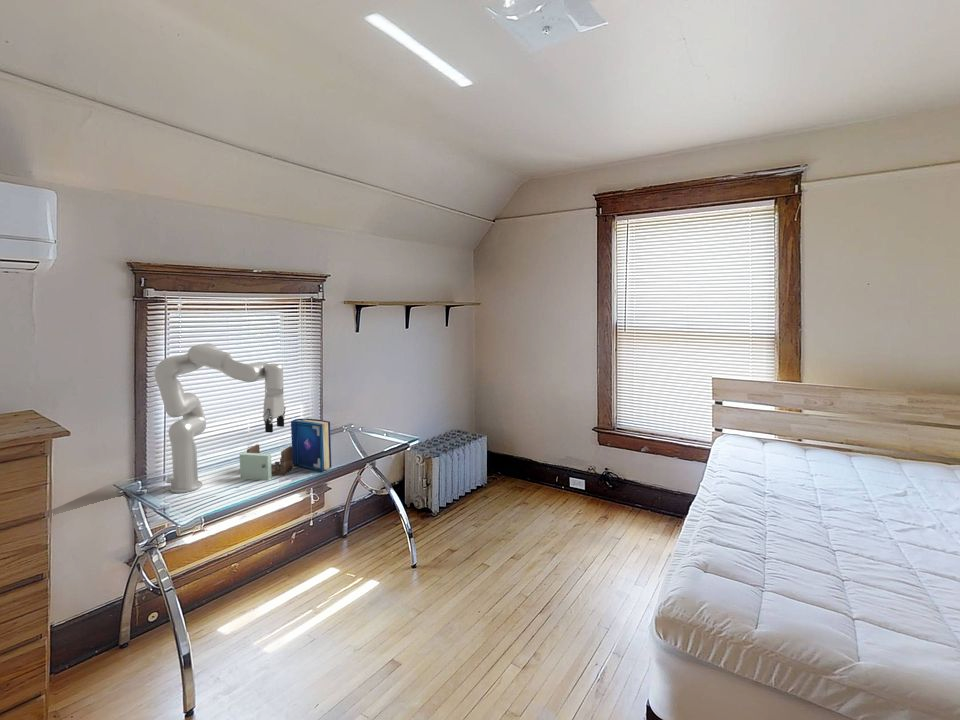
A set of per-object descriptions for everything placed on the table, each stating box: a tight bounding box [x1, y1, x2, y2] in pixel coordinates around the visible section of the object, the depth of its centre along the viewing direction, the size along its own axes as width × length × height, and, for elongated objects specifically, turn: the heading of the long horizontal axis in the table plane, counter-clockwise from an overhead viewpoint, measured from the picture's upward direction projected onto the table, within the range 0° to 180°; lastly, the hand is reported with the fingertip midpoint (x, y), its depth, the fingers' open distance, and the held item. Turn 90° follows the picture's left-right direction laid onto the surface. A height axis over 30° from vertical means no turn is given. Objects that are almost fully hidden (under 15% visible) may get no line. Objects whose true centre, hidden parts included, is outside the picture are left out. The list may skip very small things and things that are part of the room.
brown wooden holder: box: [246, 443, 294, 476], centre depth 242 cm, size 19×9×12 cm, turn 86°
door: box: [239, 452, 273, 481], centre depth 232 cm, size 14×4×12 cm, turn 86°
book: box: [290, 418, 332, 472], centre depth 249 cm, size 22×7×25 cm, turn 67°
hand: (275, 429), depth 216 cm, fingers open, 9 cm apart
